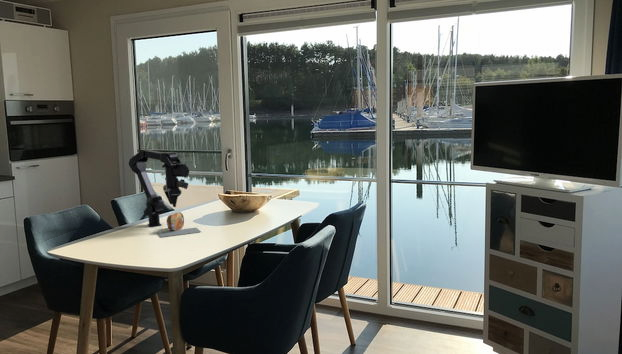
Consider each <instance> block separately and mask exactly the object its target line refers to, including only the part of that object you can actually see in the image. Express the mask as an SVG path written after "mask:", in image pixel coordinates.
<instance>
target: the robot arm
mask: <svg viewBox="0 0 622 354" xmlns="http://www.w3.org/2000/svg"><path fill="white" fill-rule="evenodd" d="M149 159H152V160H157V161H158V160H159V161H160V163H162V166H161V168H163V169H164V170H165V171H164V173H165V178H164V180H165V184H164V185H163V187H162V190H163V192H164V194H165V196H166V199H167V200H168V202H169V204H170V205H172V207H173V208H176V207H177V203H178V198H179V196H181V194H182V189H184V190H187V189H188V187H189V183H188V182H186V181H185V179H182V178H186V177H188V176H190V175H189V174H190V168H189V167H188V166H187V164H186V163H182V160H180V157H179V156H178V154H177V152H176V151H168V152H164V151H163V152H162V151H156V150H152V149H147V148H145V149H140V150H139V151H138V152H137V153H135V155H133V156H132V157H131V158H130V159H129V161H128V167H130V168H129V169H130V170H131V171H132V172H134V173H135V174H136V175H137V178H138V180H139V182H140V185H141V187H142V190H143V192H144V194H145V197H146V201H145V202H146V207H145V209H144V211H143V214H144V216H146V217H148V218H147V219H148V223H147V226H148V227H149V228H151V227H159V226H162V224H161V221H160V214H163V212H164V207H165V204H164V203H165V202H164V201H163V198H162V196H161V195H159V196H158V195H157V193H156V192H155V189H154V188H153V187H154V186H153V185H152V183H151V179H150V178H149V176H148V175H149V174H148V172H147V162H148V161H149ZM178 177H179V178H181V179H180V180H179V178H178ZM181 188H182V189H181Z"/></svg>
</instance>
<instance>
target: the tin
mask: <svg viewBox="0 0 622 354" xmlns="http://www.w3.org/2000/svg"><path fill="white" fill-rule="evenodd" d="M166 225H167V229H168V231H176V230H180V229H182V228H183V227H184V225H185V217H184V215H183V213H182V212H181V211H179V212H174V213H173V214H169V215H168V216H167V217H166Z"/></svg>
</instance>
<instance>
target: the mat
mask: <svg viewBox="0 0 622 354" xmlns="http://www.w3.org/2000/svg"><path fill="white" fill-rule="evenodd" d="M200 232H201V233H202V231H201V230H200V229H199V228H198V227H191V228H190V227H189V228H183V229H182V228H180V229H178V230H176V231H170V230H167V231H159V232H156V234H157V235H158V236H159V237H160V238H168V237H176V236H183V235H184V236H185V235H191V234H199V233H200Z"/></svg>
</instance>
